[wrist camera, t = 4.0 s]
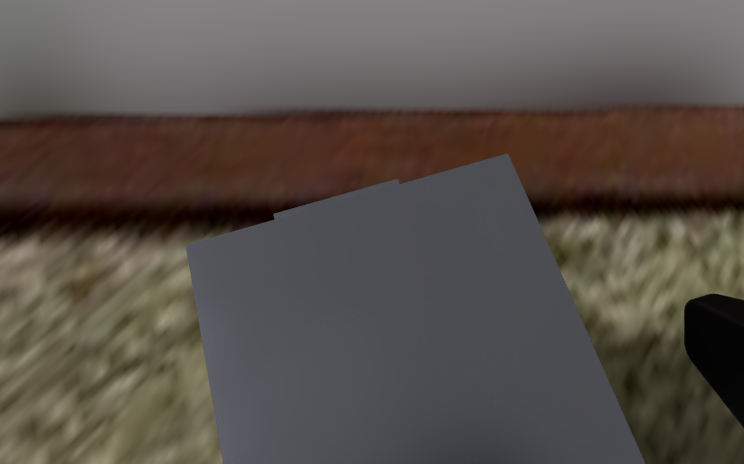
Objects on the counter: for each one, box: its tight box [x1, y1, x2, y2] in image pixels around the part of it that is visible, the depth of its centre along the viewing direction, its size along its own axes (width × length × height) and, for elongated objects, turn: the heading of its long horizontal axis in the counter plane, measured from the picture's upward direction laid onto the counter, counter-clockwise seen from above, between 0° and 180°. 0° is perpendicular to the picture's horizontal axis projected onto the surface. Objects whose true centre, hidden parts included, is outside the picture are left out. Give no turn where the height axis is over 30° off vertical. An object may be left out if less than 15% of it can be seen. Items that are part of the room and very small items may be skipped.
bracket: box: [186, 154, 645, 464], centre depth 12 cm, size 9×4×11 cm, turn 16°
